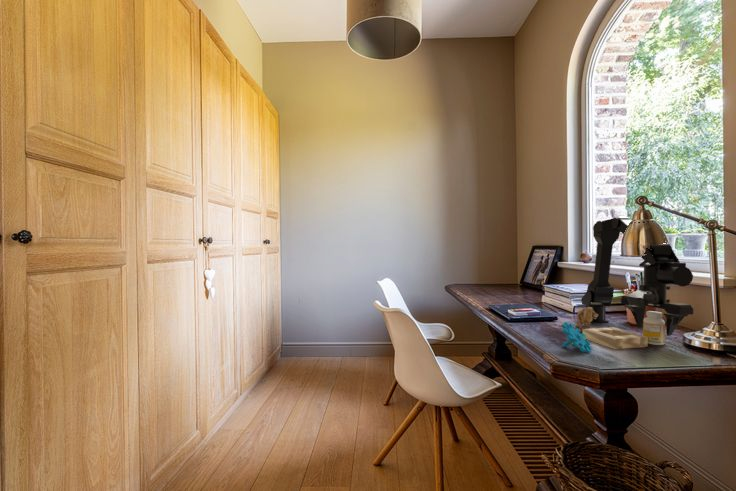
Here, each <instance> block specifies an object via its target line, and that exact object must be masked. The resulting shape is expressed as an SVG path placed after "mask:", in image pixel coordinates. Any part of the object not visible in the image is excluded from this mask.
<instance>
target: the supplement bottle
mask: <svg viewBox="0 0 736 491" xmlns="http://www.w3.org/2000/svg"><path fill="white" fill-rule="evenodd" d="M645 314H646V317H644V320H643V325H642V335H643V336H646V337H648V345H655V346H664V345H665V341H666V321H665V320H664V319H663V316H664V315H663V312H660V311H653V310H647V311H645Z"/></svg>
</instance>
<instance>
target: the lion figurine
mask: <svg viewBox="0 0 736 491" xmlns="http://www.w3.org/2000/svg"><path fill="white" fill-rule="evenodd" d="M576 314H577V315H576V324H575V325H574V327H575V328H578V329H579V330H580V332H583V329H584V328H583V326H584V327H586V328H585V329H590V326H591V323H592V322H591V321H592V320H593V318H594V319H596V317H597V316H598V314H597V313H595V311H593V308H592V307H586V306H585V307H583V308H581V309H578V311H577V313H576Z"/></svg>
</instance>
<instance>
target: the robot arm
mask: <svg viewBox="0 0 736 491" xmlns="http://www.w3.org/2000/svg"><path fill="white" fill-rule="evenodd" d="M631 221H633V220H632V218H631V217H629V216H616V217H613V218H610V219H605V220H598V221H596V222H595V223H594V224H593V227H592V230H593V238H594V240H595V241H596V244H597V245H596V254H595V263H594V272H593V279H592V280H591V281H590V283H589V284H588V286H587V289H586V292H585V293H584V295H583V296H582V297H581V299H580V300H581V301H580V302H581V305H583V306H585V308H586V307H592V308H593V311H595V313H597V314H598V316H597V317H596V319H594V318H593V320H592V321H591V323H596V324H597V323H598V324H599V323H609V321H610V320H608V319H606V312H607V311H606V310H607V309H606V308H607V307H611V304H612V301H613V298H614V291H615V288H614V287H613V286H612V285H611V283H610V282H609V280H610V272H611V264H612V263H611V262H612V255H613V254H612V252H613V248H614V247H613V246H614V244H615V243H616V241H618V240H619V239H620V234H623V235H624V232H625V230H626V228H627V227H628V225H629V223H630V222H631ZM650 249H652V250H650ZM650 249H648V248H646V252H645V253H644V254H647V255H645V256H642V257H641V256H640V257H641V259H642V260H643V261H642V262H640V264H638V265H639V267H640V268H643V284H640V285H639V288H638V290H634V291H633V292H631V293H629V294H627V295H623V296H622V297H621V298H620V304H622V305H623V306H624V307H625V308H627V310H629V311H630V312H631V314H632V316H633V317H634V318H633V319H634V321H635V323H636V326H637V328H638V329H643V320H644V318H645V314H646V309H647V307H651V308H655V309H663V310H664V311H665V312H664V313H663V316H664V317H665V318H666V324H665V333H666V336H668V337H670V336H672V334H673V333H674V332H675V330H676V329H677V327H678V326H679V324H680V323H681V321H683V320H684V319H685V317H689V315H690V316H691V315H694V307H693V306H692V305H691V304H689V303H683V302H671V300H670V299H668V298H667V294H668V292H667V291H668V290H671V286H676V287H687V286H689V285H690V284H691V283H692V281H693V280H694V274H693V273H692V271H691V269H690V268H688V267H687V263H685V262H680V260H679V258H678V257H677V255H676V253H675V252H674V250H673V248H672V245H671V244H670V243H668V242H667V244H666V243H663V244H659V245H650ZM652 255H653V256H652ZM669 285H670V286H669Z"/></svg>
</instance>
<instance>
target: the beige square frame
mask: <svg viewBox="0 0 736 491" xmlns="http://www.w3.org/2000/svg"><path fill="white" fill-rule="evenodd" d="M583 333H585V334H586V339H587V341H589V342H592V343H596V344H598V345H601V346H604V347H607V348H611V349H614V350H621V349H623V350H624V349H636V348H637V349H638V348H647V347H648V346H649V343H648V337H646V336H643V334H637V333H635V332H631V331H627V330H625V329H621V328H617V327H615V326H612V327H609V326H608V327H595V328H589V329H586V328H583V331H582V334H583Z"/></svg>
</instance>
